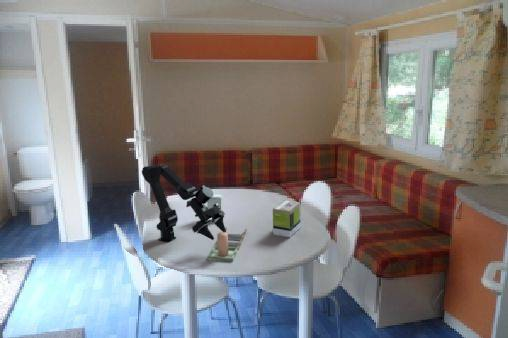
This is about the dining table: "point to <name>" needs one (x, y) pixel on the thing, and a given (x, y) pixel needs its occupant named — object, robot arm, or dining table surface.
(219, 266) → the dining table surface
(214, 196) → the skincare box
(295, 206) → the tea box
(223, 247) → the peach capsule
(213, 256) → the frame
